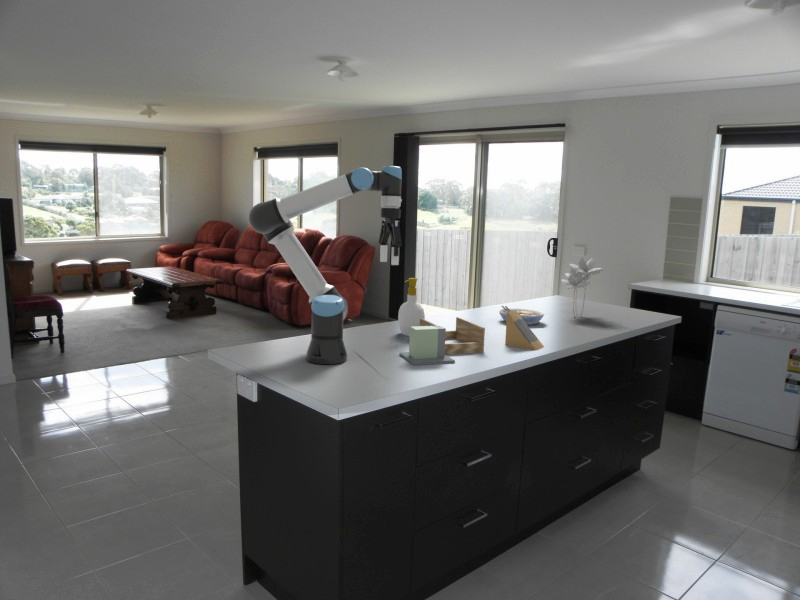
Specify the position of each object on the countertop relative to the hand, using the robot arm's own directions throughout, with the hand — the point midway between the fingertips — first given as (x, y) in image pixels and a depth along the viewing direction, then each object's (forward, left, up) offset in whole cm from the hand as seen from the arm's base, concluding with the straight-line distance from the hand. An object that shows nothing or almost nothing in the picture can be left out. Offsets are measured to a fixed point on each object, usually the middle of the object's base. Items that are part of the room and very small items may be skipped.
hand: (389, 263), depth 230 cm
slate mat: (+11, -15, -35) cm, 39 cm away
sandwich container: (+60, -6, -35) cm, 70 cm away
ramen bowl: (+85, +40, -35) cm, 100 cm away
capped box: (+11, -15, -34) cm, 38 cm away
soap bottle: (+20, +26, -35) cm, 48 cm away
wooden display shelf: (+29, +3, -35) cm, 45 cm away
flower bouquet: (+122, +45, -35) cm, 135 cm away
